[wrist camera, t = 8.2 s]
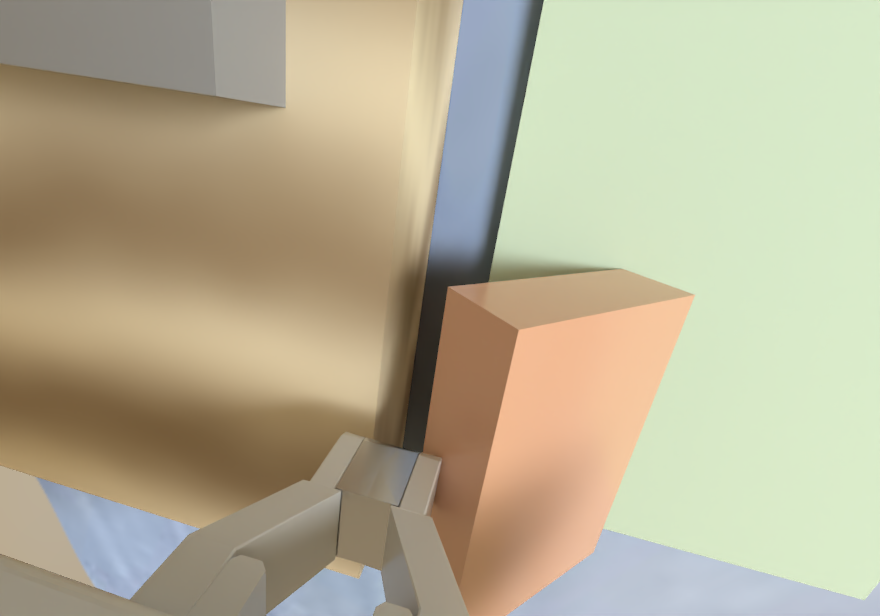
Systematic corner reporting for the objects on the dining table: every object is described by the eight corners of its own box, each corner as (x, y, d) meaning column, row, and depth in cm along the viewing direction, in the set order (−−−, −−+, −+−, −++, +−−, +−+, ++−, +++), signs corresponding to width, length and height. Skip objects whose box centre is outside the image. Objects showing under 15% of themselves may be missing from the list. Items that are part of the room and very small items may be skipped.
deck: (-32, -231, 11) (-315, -421, 7) (492, -214, 9) (464, -461, 5) (97, 400, 19) (-11, 462, 15) (397, 484, 17) (359, 578, 13)
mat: (573, -147, 9) (575, -159, 9) (1396, -103, 7) (1444, -117, 7) (450, 478, 16) (448, 486, 16) (855, 588, 14) (864, 600, 14)
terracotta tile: (448, 286, 8) (518, 329, 7) (622, 268, 12) (695, 295, 10) (401, 588, 12) (442, 661, 10) (547, 506, 15) (593, 552, 14)
